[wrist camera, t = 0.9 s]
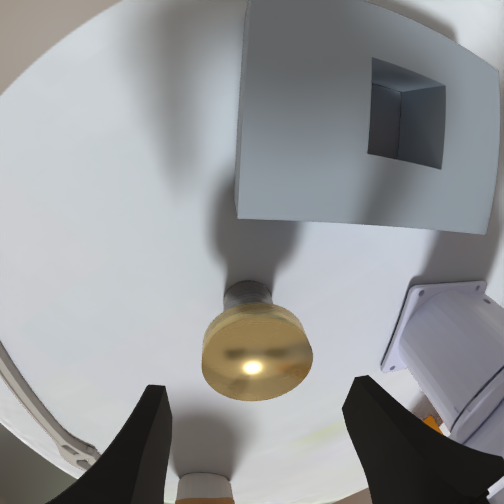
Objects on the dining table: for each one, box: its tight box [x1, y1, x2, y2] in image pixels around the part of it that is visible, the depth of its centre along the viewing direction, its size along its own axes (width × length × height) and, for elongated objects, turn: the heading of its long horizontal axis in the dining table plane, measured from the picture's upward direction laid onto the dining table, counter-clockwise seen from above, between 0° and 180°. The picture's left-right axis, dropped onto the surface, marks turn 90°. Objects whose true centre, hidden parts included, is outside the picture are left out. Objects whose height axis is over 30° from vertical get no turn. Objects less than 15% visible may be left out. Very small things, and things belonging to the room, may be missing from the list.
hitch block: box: [234, 0, 500, 235], centre depth 11 cm, size 14×10×4 cm
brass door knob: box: [202, 280, 313, 401], centre depth 14 cm, size 5×5×6 cm
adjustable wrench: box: [0, 342, 101, 471], centre depth 19 cm, size 25×6×2 cm, turn 4°
